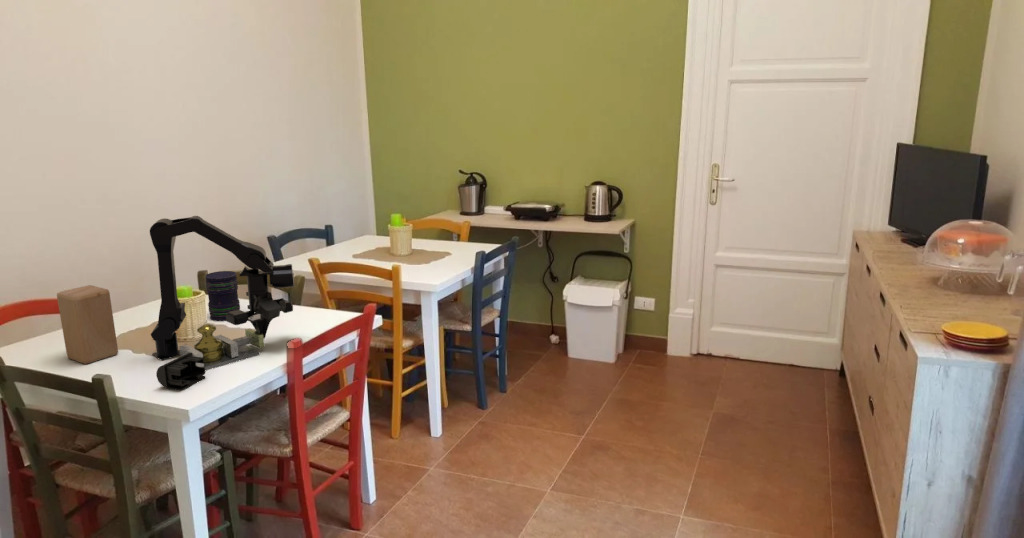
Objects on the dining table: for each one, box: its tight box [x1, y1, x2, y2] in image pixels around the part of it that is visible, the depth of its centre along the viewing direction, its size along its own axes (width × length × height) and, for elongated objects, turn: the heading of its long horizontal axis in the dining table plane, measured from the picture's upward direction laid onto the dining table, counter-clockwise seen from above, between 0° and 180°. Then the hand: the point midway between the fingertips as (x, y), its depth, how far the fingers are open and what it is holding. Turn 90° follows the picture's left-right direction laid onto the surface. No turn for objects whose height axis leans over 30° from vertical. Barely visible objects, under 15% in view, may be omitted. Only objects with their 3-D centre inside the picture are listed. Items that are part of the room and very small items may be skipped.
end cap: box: [155, 353, 207, 392], centre depth 181 cm, size 10×7×7 cm
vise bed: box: [178, 344, 260, 371], centre depth 197 cm, size 11×18×5 cm, turn 138°
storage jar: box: [205, 270, 241, 322], centre depth 233 cm, size 10×10×15 cm
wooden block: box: [56, 284, 119, 365], centre depth 197 cm, size 10×10×20 cm
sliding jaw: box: [213, 328, 265, 358], centre depth 202 cm, size 10×10×4 cm
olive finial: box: [194, 323, 224, 362], centre depth 194 cm, size 7×7×10 cm
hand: (262, 338), depth 207 cm, fingers closed
